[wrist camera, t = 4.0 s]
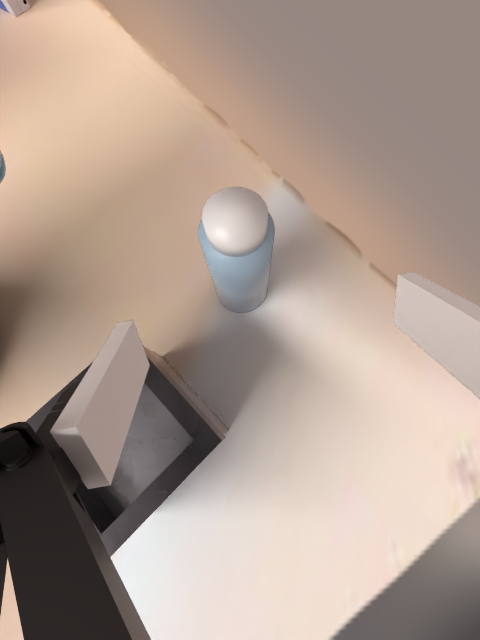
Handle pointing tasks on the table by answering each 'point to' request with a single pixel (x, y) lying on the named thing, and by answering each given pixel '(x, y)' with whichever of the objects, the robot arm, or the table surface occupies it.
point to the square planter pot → (148, 451)
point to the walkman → (14, 6)
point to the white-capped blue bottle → (237, 246)
